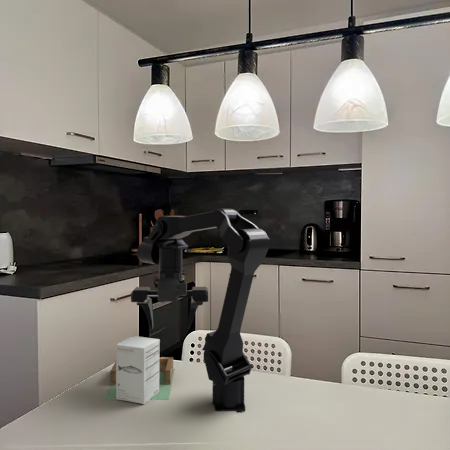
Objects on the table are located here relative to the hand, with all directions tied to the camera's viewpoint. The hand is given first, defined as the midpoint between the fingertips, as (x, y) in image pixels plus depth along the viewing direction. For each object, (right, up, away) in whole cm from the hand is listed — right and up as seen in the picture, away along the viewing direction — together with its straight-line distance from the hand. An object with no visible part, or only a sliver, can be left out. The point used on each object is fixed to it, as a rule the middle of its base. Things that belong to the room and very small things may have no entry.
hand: (170, 328), depth 105 cm
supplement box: (-6, -13, -9) cm, 17 cm away
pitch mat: (-7, -13, -2) cm, 15 cm away
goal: (-7, -13, +1) cm, 15 cm away
